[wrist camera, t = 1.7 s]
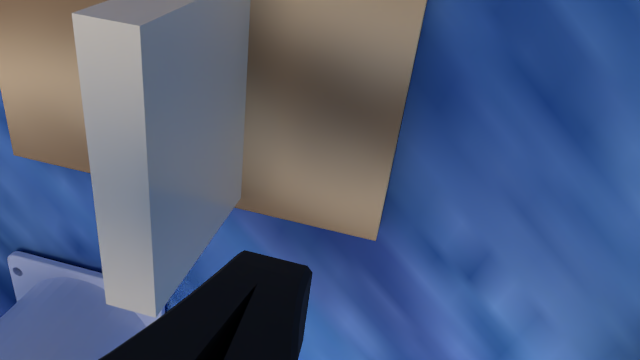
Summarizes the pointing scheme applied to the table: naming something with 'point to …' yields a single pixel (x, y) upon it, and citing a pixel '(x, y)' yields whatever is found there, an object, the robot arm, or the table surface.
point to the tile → (161, 135)
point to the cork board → (251, 101)
